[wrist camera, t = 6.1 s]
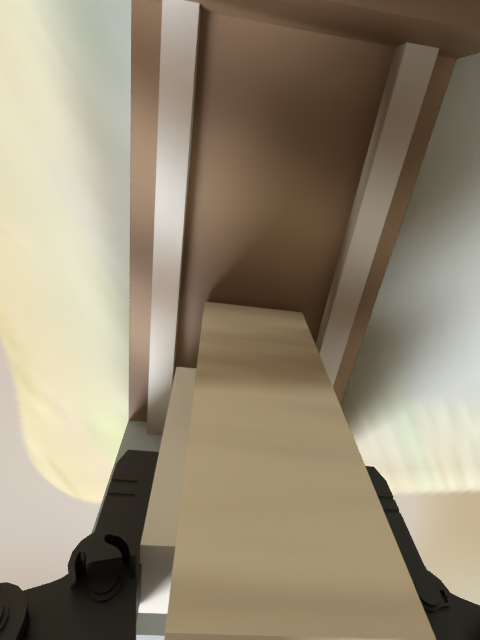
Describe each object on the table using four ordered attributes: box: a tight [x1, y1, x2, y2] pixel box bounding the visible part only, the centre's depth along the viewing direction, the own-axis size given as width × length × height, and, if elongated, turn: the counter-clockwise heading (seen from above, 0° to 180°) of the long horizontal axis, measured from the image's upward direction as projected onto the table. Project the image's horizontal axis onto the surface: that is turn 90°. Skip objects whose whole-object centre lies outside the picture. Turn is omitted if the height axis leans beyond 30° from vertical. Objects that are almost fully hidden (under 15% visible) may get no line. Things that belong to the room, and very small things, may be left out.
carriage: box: [164, 301, 436, 640], centre depth 12 cm, size 6×4×11 cm, turn 172°
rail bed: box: [129, 0, 480, 436], centre depth 14 cm, size 26×10×4 cm, turn 172°
